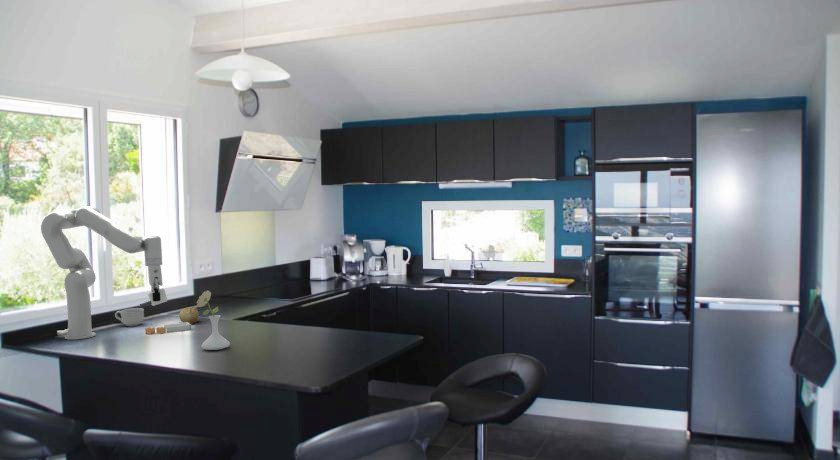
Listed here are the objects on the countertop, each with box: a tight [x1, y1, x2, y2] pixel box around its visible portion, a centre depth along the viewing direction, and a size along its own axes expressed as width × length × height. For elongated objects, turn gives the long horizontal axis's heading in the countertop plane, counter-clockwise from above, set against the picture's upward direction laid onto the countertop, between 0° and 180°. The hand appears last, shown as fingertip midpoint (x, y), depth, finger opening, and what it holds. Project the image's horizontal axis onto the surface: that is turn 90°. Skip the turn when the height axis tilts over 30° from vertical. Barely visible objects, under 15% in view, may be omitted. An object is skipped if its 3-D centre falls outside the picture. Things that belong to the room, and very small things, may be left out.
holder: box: [163, 322, 192, 333], centre depth 305 cm, size 11×8×2 cm
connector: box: [139, 288, 169, 309], centre depth 297 cm, size 12×4×6 cm, turn 121°
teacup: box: [114, 307, 145, 327], centre depth 320 cm, size 14×11×8 cm
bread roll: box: [178, 306, 200, 325], centre depth 324 cm, size 10×15×8 cm, turn 26°
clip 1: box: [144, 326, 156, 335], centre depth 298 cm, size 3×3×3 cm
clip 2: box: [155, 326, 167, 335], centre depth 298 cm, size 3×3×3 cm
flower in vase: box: [196, 290, 230, 351], centre depth 260 cm, size 13×11×25 cm
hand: (156, 300), depth 297 cm, fingers closed on connector, 3 cm apart
